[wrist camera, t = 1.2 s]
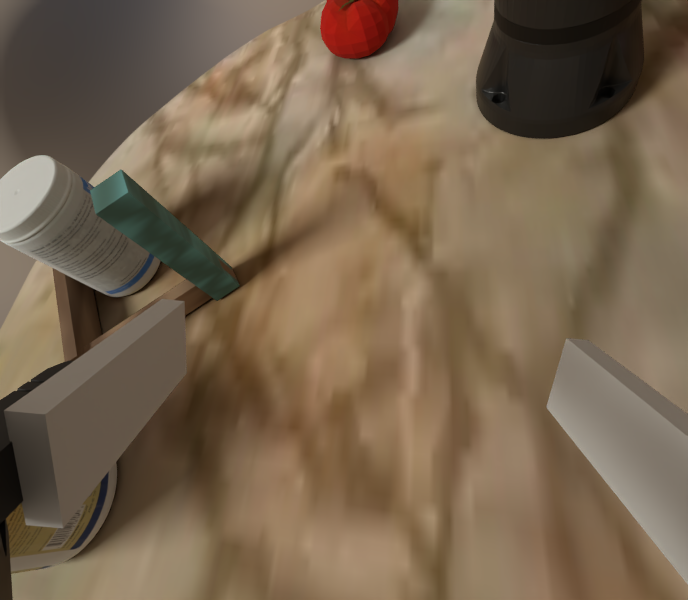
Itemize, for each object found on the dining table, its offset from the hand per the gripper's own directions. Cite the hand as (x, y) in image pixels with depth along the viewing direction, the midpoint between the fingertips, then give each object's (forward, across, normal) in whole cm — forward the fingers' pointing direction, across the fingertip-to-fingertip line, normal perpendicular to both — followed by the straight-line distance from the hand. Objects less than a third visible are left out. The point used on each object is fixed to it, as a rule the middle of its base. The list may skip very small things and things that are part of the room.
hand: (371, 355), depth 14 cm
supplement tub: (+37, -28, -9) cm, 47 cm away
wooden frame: (+35, -24, -8) cm, 43 cm away
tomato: (+52, -1, +22) cm, 57 cm away
